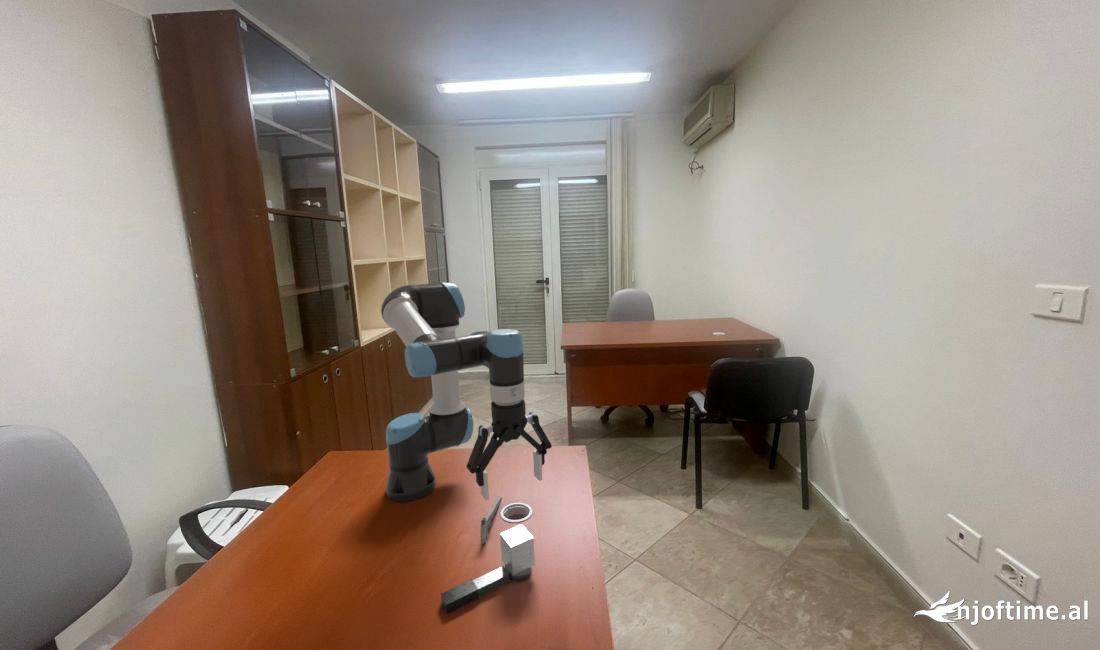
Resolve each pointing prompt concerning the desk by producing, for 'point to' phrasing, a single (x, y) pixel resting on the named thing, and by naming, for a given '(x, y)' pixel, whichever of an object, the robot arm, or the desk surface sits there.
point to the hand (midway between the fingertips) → (512, 487)
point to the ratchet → (480, 587)
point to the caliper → (488, 520)
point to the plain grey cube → (517, 549)
